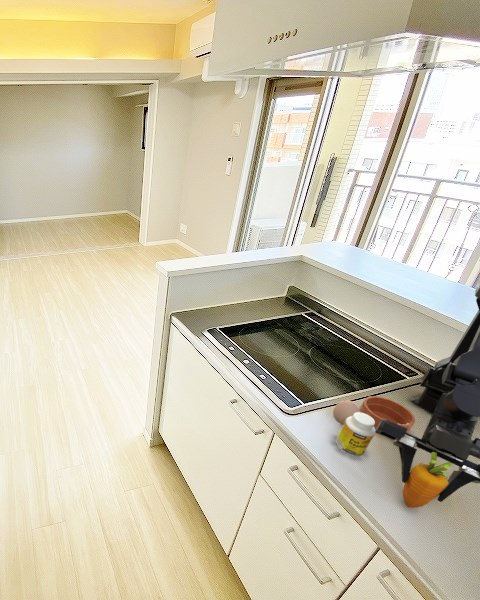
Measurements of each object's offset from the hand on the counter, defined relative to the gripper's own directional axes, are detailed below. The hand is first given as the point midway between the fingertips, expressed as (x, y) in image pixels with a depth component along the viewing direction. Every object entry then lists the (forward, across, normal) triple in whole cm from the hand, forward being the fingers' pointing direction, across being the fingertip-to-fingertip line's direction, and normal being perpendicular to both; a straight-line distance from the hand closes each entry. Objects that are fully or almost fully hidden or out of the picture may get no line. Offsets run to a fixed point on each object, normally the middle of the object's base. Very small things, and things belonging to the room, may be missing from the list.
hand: (420, 491), depth 64 cm
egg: (-7, -15, +17) cm, 24 cm away
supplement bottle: (-2, -12, +12) cm, 17 cm away
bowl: (-12, -8, +22) cm, 26 cm away
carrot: (+4, 0, +6) cm, 7 cm away
